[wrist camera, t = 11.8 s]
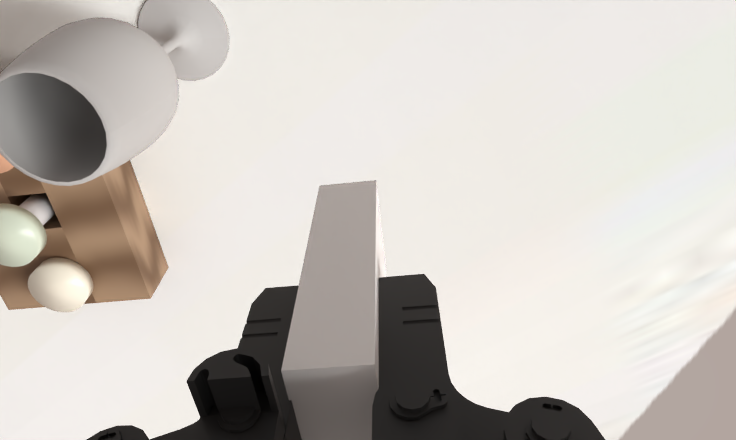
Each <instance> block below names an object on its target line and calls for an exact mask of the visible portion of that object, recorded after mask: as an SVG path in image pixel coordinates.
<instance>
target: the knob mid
mask: <svg viewBox="0 0 736 440" xmlns="http://www.w3.org/2000/svg"><path fill="white" fill-rule="evenodd" d="M54 215H55V212H54V209H53V207H52V205H51V203H50V201H49V198H48V196H47V194H46V193H40V194H32V195H31V196H30V197H29V198H28V199H26V200H25V201H24V202H23V203H22V204H21V205H19V206H17V205H13V204H7V203H1V204H0V264H1V265H4V266H9V267H20V266H24V265H26V264H28V263H30V262H31V261H32V260H33V259H34V258H35V257H36V256H37V255H38V254H39V253H40V252H41V251H42V250H43V249H44V247H45V245H46V242H47V234H46V231H45V228H44V226H43V225H44V224H45V223H46V222H47V221H48V220H49V219H50V218H51V217H53V216H54Z"/></svg>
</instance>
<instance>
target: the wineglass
mask: <svg viewBox="0 0 736 440" xmlns="http://www.w3.org/2000/svg"><path fill="white" fill-rule="evenodd" d="M228 50H229V33H228V28H227V25H226V23H225V20H224V18H223V16H222V14H221V13H220V12H219V10H218V9H217V7H216V6H215V5H214V4H213V3H212V2H211V1H210V0H147V1H146V2H145V4H144V6H143V8H142V10H141V12H140V15H139V20H138V28H136V27H134V26H133V25H131V24H129V23H126V22H123V21H119V20H116V19H112V18H91V19H85V20H81V21H76V22H72V23H69V24H66V25H64V26H62V27H60V28H58V29H56V30H55V31H53V32H51V33H49V34H48V35H46V36H45V37H43V38H42V39H40V40H39V41H37V42H36V43H34V44H33V45H32V46H30V47H29V48H28V49H26V50H25V51H24V52H22V53H21V54H20V55H19V56H18V57H17V58H16V59H14V60H13V61H12V62H11V63H10V64H9V65H8V66H7V67H6V68H5V69H4V70H3V71H2V72H1V73H0V154H1V155H2V156H3V157H4V158H5V159H6V160H7V161H8V162H9V163H10V164H11V165H12V166H14V167H15V168H17V169H18V170H20V171H21V172H23V173H24V174H26V175H27V176H29V177H32V178H34V179H36V180H38V181H41V182H44V183H48V184H52V185H59V186H72V185H78V184H83V183H86V182H88V181H91V180H93V179H95V178H97V177H99V176H101V175H103V174H105V173H107V172H109V171H111V170H113V169H115V168H117V167H119V166H121V165H122V164H124V163H126V162H127V161H129V160H130V159H132V158H134V157H135V156H137V155H138V154H140V153H141V152H142V151H144V150H145V149H147V148H148V147H149V146H150V145H151V144H153V143H154V142H155V141H156V140H157V139H158V138H159V137H160V136H161V135H162V134H163V133H164V131H165V130H166V128H167V127H168V125H169V123H170V122H171V120H172V118H173V116H174V115H175V113H176V109H177V105H178V101H179V84H178V80H177V78H178V79H181V80H188V81H196V80H201V79H205V78H207V77H209V76H211V75H213V74H214V73H215V72H216V71H217V70H218V69H219V68H220V67H221V66H222V64H223V63H224V61H225V60H226V57H227V54H228Z"/></svg>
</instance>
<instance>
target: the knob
mask: <svg viewBox="0 0 736 440" xmlns="http://www.w3.org/2000/svg"><path fill="white" fill-rule="evenodd" d="M28 288H29V291H30V293H31V295H32V296H33V297H34V299H35V300H36V301H37V302H39V303H40V304H41V305H43V306H45V307H46V308H48V309H51V310H54V311H58V312H72V311H75V310H77V309H79V308H80V307H82V305H83V304H84V303H85V301H86V300H87V299H88V297H89V296H90V295H91V293H92V291H93V281H92V278H91V276H90V274H89V273H88V272H87V271H86V269H84V268H83V267H82V266H81V265H79V264H78V262H74V261H72V260H69V259H66V258H50V259H47V260H45V261H43V262H42V263H41V264H40V265H39V266H38V267H37V268H36V269H35V270H34V271H33V272H32V273H31V275H30V276H29V278H28Z"/></svg>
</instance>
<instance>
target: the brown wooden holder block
mask: <svg viewBox="0 0 736 440" xmlns="http://www.w3.org/2000/svg"><path fill="white" fill-rule="evenodd" d="M40 193H46V194H47V196H48V198H49V201H50V203H51V205H52V207H53V209H54V212H55V215H54V216H53V217H51V218H50V219H49V220H48V221H47V222H46V223H45V224H44V225H43V226H44V228H45V231H46V234H47V242H46V245H45V247H44V249H43V250H42V251H41V252H40V253H39V254H38V255H37V256H36V257H35V258H34V259H33V260H32V261H31V262H30V263H28V264H26V265H24V266H20V267H9V266H4V265H1V264H0V295H1V297H2V299H3V301H4V302H5V304H6V306H7V308H8V309H9V310H12V309H25V308H37V307H45V306H43V305H41V304H40V303H39V302H37V301H36V300H35V299H34V297H33V296H32V295H31V293H30V291H29V288H28V278H29V276H30V275H31V273H32V272H33V271H34V270H35V269H36V268H37V267H38V266H39V265H40V264H41V263H42V262H43V261H45V260H47V259H50V258H66V259H69V260H72V261H74V262H78V264H79V265H81V266H82V267H83V268H84V269H86V271H87V272H88V273H89V274H90V276H91V278H92V281H93V291H92V293H91V295H90V296H89V297H88V299H87V300H86V301H85V303H84V304H87V303H100V302H112V301H125V300H137V299H150V298H151V297H152V295H153V293H154V292H155V290H156V288H157V286H158V285H159V283H160V281H161V279H162V278H163V276H164V274H165V273H166V271H167V269H168V265H167V262H166V259H165V257H164V254H163V251H162V248H161V245H160V243H159V240H158V237H157V234H156V232H155V229H154V226H153V223H152V220H151V218H150V215H149V212H148V209H147V207H146V204H145V201H144V198H143V195H142V193H141V190H140V187H139V184H138V181H137V179H136V176H135V173H134V170H133V168H132V165H131V162H130V160H129V161H127V162H126V163H124V164H122V165H121V166H119V167H117V168H115V169H113V170H111V171H109V172H107V173H105V174H103V175H101V176H99V177H97V178H95V179H93V180H91V181H88V182H86V183H83V184H78V185H72V186H59V185H52V184H48V183H44V182H41V181H38V180H36V179H34V178H32V177H29V176H27V175H26V174H24V173H23V172H21V171H20V170H18V169H17V168H15V167H13V168H12V169H11V170H9V171H7V172H4V173H0V204H1V203H7V204H13V205H17V206H19V205H21V204H22V203H23V202H24V201H25V200H26V199H28V198H29V197H30V196H31V195H32V194H40Z"/></svg>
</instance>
